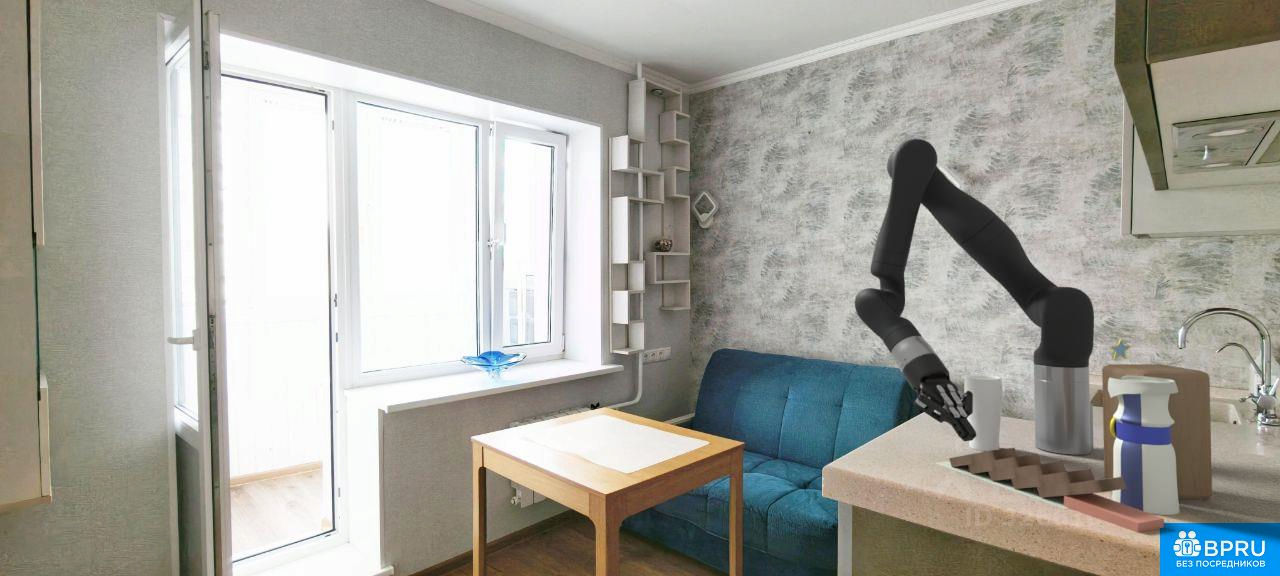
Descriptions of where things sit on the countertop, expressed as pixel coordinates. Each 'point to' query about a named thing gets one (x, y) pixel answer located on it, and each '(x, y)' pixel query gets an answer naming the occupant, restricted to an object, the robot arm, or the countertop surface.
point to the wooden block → (1185, 432)
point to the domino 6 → (1113, 512)
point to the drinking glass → (985, 410)
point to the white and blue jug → (1144, 442)
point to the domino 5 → (1083, 487)
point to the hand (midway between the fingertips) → (970, 438)
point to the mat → (1008, 485)
